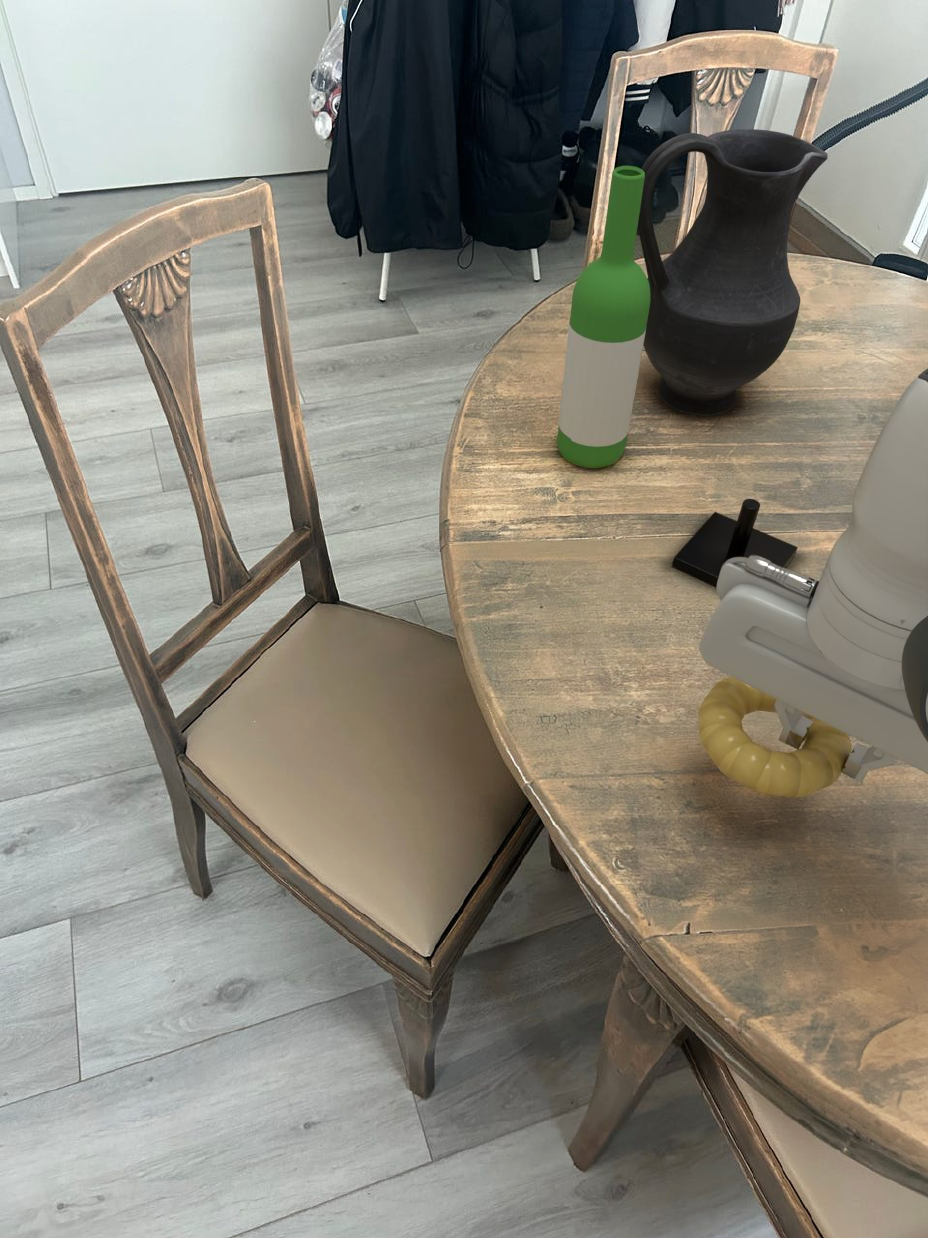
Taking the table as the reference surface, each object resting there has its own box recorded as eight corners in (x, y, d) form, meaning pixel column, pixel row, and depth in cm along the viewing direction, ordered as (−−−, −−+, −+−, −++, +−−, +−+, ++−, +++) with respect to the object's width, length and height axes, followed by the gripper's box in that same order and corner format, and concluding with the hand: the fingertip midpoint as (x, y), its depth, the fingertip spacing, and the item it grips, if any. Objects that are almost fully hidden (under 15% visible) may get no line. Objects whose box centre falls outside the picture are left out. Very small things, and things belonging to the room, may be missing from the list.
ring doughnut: (863, 732, 64) (877, 707, 62) (809, 832, 59) (822, 807, 56) (732, 668, 69) (741, 642, 67) (669, 754, 63) (677, 728, 61)
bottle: (596, 425, 103) (636, 150, 82) (638, 459, 98) (691, 177, 77) (542, 444, 100) (567, 164, 79) (582, 480, 96) (621, 193, 74)
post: (794, 555, 87) (816, 498, 82) (756, 606, 82) (777, 548, 77) (712, 520, 91) (728, 463, 86) (671, 566, 86) (685, 508, 81)
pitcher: (795, 422, 104) (885, 150, 82) (634, 450, 100) (685, 169, 78) (725, 351, 115) (788, 95, 94) (578, 373, 111) (609, 110, 90)
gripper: (705, 571, 54) (667, 712, 64) (1067, 732, 45) (959, 868, 55) (748, 519, 57) (707, 661, 67) (1092, 660, 49) (987, 799, 58)
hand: (823, 755), depth 61 cm, fingers closed on ring doughnut, 3 cm apart
